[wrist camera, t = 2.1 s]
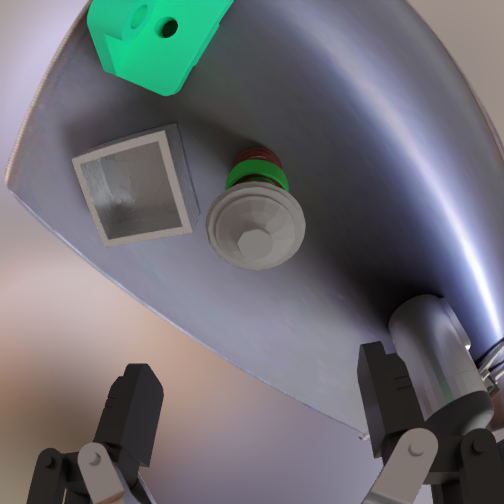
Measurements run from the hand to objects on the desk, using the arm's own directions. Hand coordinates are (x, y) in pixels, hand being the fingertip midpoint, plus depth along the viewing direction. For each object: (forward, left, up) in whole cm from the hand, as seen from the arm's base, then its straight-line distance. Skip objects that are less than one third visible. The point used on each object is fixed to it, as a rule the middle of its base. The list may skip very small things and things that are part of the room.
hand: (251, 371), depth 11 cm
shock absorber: (0, 0, -24) cm, 24 cm away
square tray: (+12, -1, -24) cm, 27 cm away
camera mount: (+5, -16, -24) cm, 29 cm away
